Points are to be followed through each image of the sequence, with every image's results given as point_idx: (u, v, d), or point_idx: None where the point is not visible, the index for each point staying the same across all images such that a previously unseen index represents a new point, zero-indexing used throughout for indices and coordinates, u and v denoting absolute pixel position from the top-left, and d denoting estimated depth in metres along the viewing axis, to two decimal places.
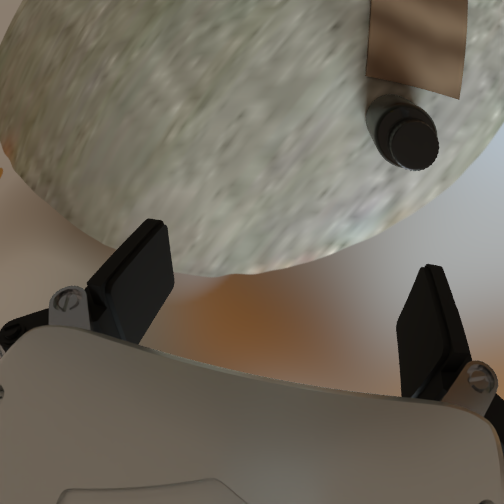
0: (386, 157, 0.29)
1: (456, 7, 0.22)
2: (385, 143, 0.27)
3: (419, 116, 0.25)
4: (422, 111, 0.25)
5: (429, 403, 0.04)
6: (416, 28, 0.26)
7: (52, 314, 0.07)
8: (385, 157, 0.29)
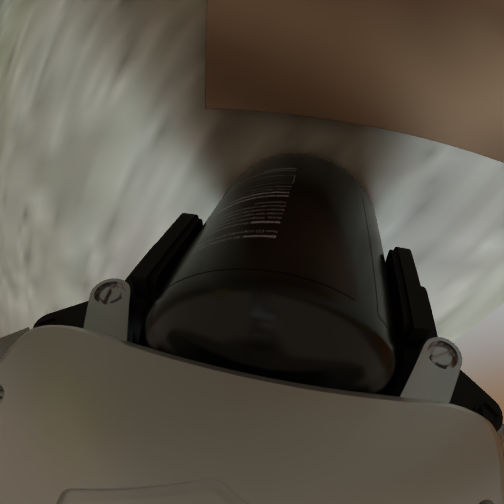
0: None
1: None
2: None
3: (295, 368, 0.05)
4: (326, 327, 0.05)
5: (429, 403, 0.04)
6: None
7: (95, 307, 0.08)
8: None
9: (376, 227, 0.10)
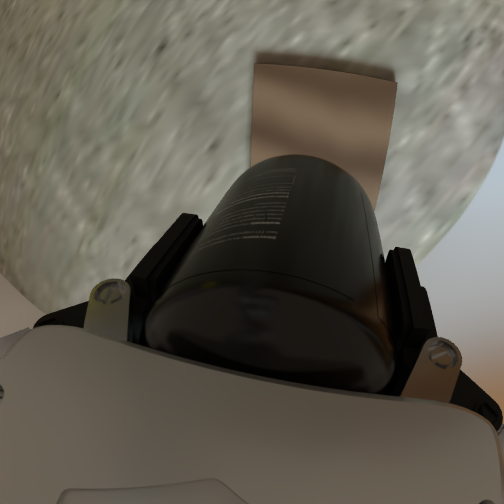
0: None
1: (377, 100, 0.23)
2: None
3: (295, 369, 0.05)
4: (326, 328, 0.05)
5: (429, 403, 0.04)
6: (313, 141, 0.26)
7: (95, 307, 0.08)
8: None
9: (376, 228, 0.10)
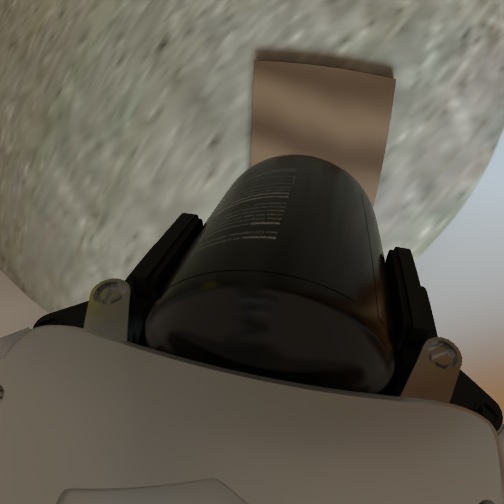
0: None
1: (375, 97, 0.23)
2: None
3: (294, 369, 0.05)
4: (326, 329, 0.05)
5: (429, 403, 0.04)
6: (312, 137, 0.27)
7: (95, 307, 0.08)
8: None
9: (376, 228, 0.10)
